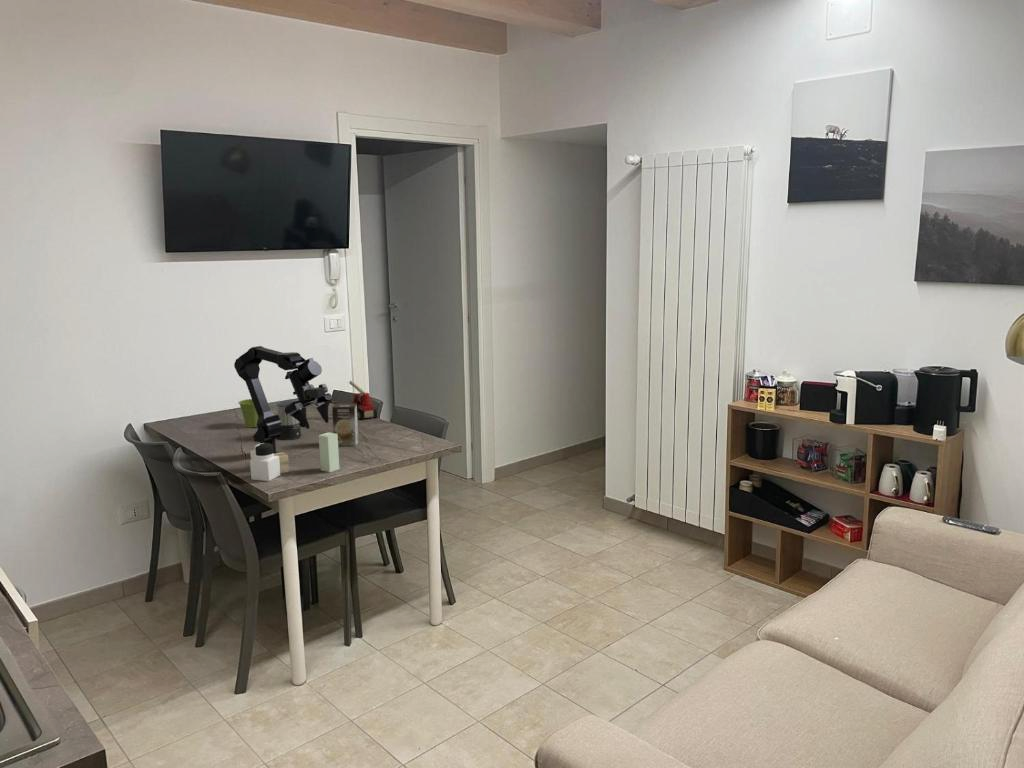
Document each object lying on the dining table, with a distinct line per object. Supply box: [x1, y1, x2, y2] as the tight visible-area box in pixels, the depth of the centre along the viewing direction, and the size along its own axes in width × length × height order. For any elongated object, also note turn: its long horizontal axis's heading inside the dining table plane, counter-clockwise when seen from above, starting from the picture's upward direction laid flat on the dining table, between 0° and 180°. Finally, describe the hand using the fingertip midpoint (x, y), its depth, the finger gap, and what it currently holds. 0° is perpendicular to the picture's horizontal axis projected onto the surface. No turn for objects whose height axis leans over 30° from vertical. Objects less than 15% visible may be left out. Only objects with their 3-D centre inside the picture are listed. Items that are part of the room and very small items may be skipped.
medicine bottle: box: [249, 443, 281, 482], centre depth 265 cm, size 7×7×12 cm
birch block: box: [273, 451, 290, 474], centre depth 273 cm, size 5×5×6 cm
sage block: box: [318, 432, 340, 473], centre depth 273 cm, size 5×5×13 cm
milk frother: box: [275, 400, 307, 441], centre depth 320 cm, size 14×16×15 cm
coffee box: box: [331, 403, 359, 447], centre depth 306 cm, size 9×6×16 cm
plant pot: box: [237, 398, 258, 429], centre depth 337 cm, size 12×12×11 cm
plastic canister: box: [249, 448, 256, 460], centre depth 275 cm, size 5×5×7 cm
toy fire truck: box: [348, 380, 378, 421], centre depth 352 cm, size 11×16×18 cm
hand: (318, 425), depth 276 cm, fingers open, 9 cm apart
